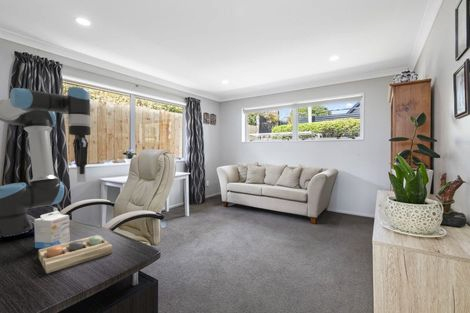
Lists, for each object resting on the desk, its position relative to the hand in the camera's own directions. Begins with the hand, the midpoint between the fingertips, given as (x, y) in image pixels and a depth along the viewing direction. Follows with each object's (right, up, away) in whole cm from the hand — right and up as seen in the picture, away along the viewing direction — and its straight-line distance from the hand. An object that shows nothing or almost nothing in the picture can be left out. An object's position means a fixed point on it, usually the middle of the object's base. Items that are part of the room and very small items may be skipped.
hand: (81, 181), depth 98 cm
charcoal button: (+5, -25, -10) cm, 28 cm away
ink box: (-12, -27, 0) cm, 29 cm away
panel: (+5, -27, -10) cm, 29 cm away
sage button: (+9, -25, -5) cm, 27 cm away
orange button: (0, -26, -15) cm, 29 cm away
